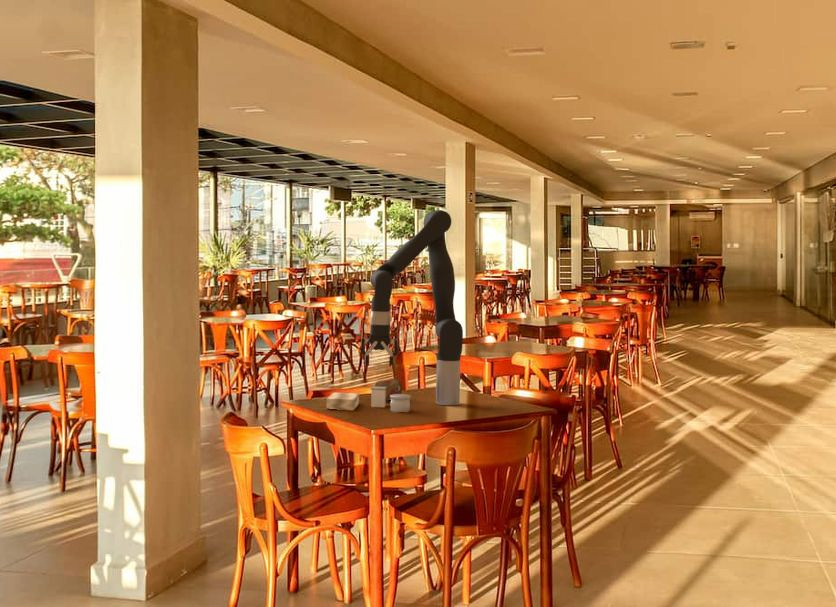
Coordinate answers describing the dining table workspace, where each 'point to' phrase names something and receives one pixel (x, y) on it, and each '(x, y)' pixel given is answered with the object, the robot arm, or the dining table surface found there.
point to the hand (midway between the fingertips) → (379, 365)
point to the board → (343, 401)
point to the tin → (390, 387)
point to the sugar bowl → (400, 402)
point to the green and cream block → (378, 396)
